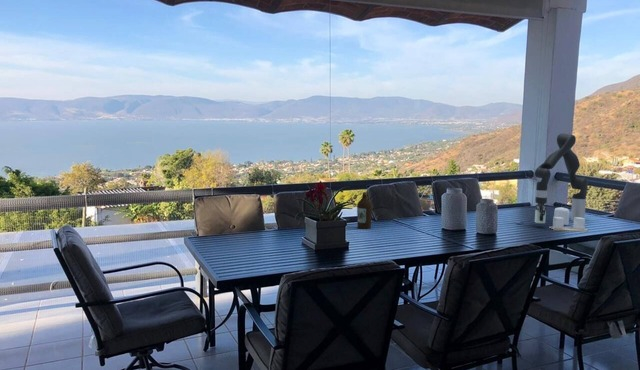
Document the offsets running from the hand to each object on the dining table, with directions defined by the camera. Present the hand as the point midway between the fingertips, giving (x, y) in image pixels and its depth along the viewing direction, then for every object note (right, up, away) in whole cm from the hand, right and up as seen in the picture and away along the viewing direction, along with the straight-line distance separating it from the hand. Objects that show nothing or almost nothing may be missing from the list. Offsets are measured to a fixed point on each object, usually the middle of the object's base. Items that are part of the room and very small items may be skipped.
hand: (540, 220), depth 353 cm
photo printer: (+21, -4, +12) cm, 24 cm away
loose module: (0, -2, 0) cm, 2 cm away
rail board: (+16, -6, -8) cm, 19 cm away
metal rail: (+16, -6, -8) cm, 19 cm away
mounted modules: (+16, -5, -8) cm, 19 cm away
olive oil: (-126, -5, -6) cm, 126 cm away
